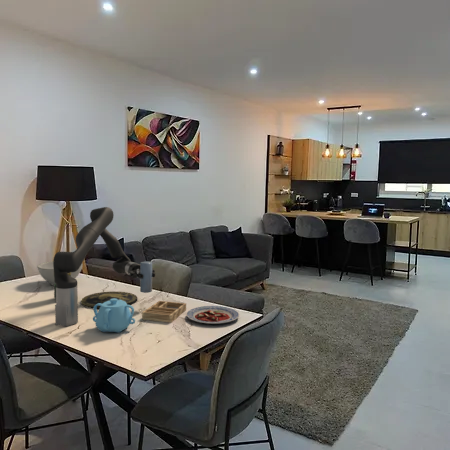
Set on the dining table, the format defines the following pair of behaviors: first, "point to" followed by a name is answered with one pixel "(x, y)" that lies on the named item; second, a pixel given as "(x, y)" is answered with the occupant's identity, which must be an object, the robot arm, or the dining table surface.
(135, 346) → the dining table surface
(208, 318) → the ceramic plate
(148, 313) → the wooden compartment tray
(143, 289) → the pale blue cylinder
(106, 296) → the decorative plate
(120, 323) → the decorative pot
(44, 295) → the dining table surface
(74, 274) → the decorative bowl
